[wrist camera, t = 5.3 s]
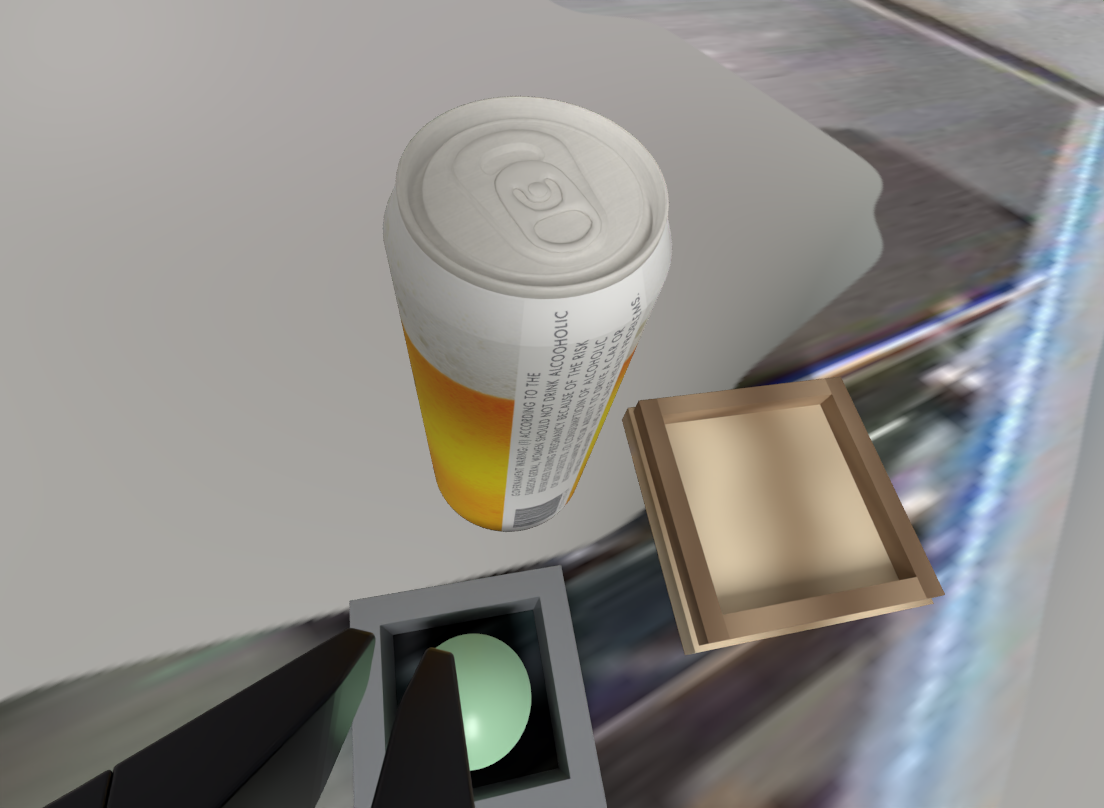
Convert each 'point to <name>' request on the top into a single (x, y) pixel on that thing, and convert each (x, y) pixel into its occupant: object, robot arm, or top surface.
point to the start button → (490, 696)
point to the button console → (576, 786)
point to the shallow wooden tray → (772, 513)
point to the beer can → (522, 293)
